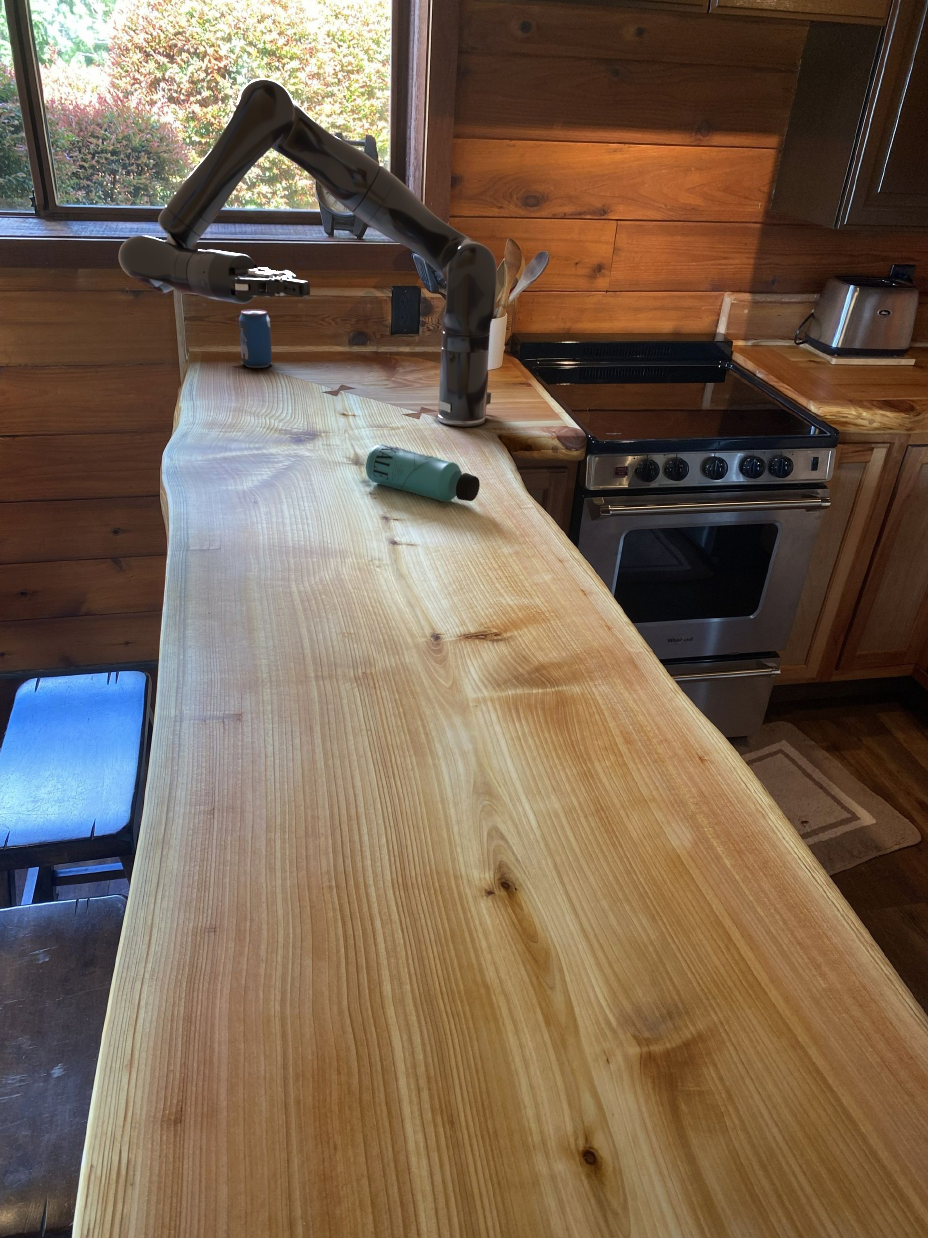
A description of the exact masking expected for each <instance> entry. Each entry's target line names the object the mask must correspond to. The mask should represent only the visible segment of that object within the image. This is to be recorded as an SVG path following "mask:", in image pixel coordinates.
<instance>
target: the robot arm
mask: <svg viewBox="0 0 928 1238" xmlns="http://www.w3.org/2000/svg"><path fill="white" fill-rule="evenodd" d="M270 150H273V151H275V152H277V153H278V154H280V155H281V156H283V157H285V158H286V159H288V160H290V161H291V162H293V163H294V164H296V165H297V166H298V167H300V168H301V169H302V170H303V171H305V172H306V173H307V174H308V175H309V176H310V177H312V179H314V180H315V182H317V183H318V184H319V186H321V187H322V188H323V189H324V190H325V191H326V192H327V193H328V194H329V195H330V196H331V197H333V198H334V199H335V200H336V201H337V202H338V203H339V204H341V206H343V207H344V208H345V209H347V210H348V211H349V212H350V213H352V214H353V215H355V216H356V217H357V218H358V219H360V220H361V221H362V222H364V223H365V224H366V225H368V226H369V227H371V228H373V229H374V230H376V231H377V232H379V233H380V234H382V235H384V236H385V237H387V238H389V239H391V240H392V241H394V242H396V243H398V244H399V245H402V246H404V247H405V248H407V249H409V250H410V251H412V252H413V253H415V254H416V255H417V256H418V257H420V258H421V259H422V260H423V261H424V262H426V264H427V265H429V266H430V267H431V268H432V269H433V270H434V271H435V272H436V273H437V274H438V275H439V276H440V277H441V278H442V279H443V280H444V282H446V291H445V292H446V293H445V306H444V312H443V314H442V317H441V329H440V330H441V331H440V334H441V335H440V359H439V384H438V385H439V387H438V402H437V410H438V411H437V420H438V421H439V422H440V423H442V424H444V425H447V426H452V427H463V428H465V427H466V428H468V427H477V426H481V425H483V424H484V423H485V422H486V417H487V407H488V405H490V404H491V400H492V392H490V391H488V383H489V370H488V368H489V367H488V366H489V356H490V355H489V353H490V337H491V334H490V333H491V325H492V321H493V318H494V313H495V305H496V295H497V284H498V281H497V280H498V265H497V264H498V263H497V261H496V257H495V255H494V254H493V252H492V251H491V249H490V248H489V247H487V246H486V245H485V244H482V243H481V242H479V241H477V240H476V239H473V238H471V237H470V236H467V235H465V234H464V233H462V232H460V231H459V230H457V229H455V228H454V227H453V226H451V225H449V224H447V223H446V222H444V221H443V220H442V219H441V218H439V217H438V216H437V215H435V214H434V213H433V212H432V211H431V210H430V209H429V208H428V207H427V206H426V204H424V203H423V201H422V200H421V198H419V197H418V196H417V194H415V193H414V192H413V190H411V189H410V188H409V187H408V186H407V185H406V184H405V183H404V182H403V181H402V180H400V178H398V177H397V176H396V175H394V174H393V173H392V172H390V171H389V170H388V169H387V168H385V167H384V166H383V165H382V164H380V162H378V161H376V160H375V159H374V158H372V157H371V156H370V155H368V154H366V153H365V152H363V151H362V150H360V149H359V148H356V147H355V146H353V145H351V144H350V143H348V142H347V141H345V140H343V139H341V138H338V136H335V135H334V134H332V133H331V132H329V131H328V130H326V129H325V128H323V127H322V126H321V125H320V124H318V123H317V122H316V121H315V120H314V119H313V118H312V117H311V116H309V114H307V113H306V112H305V111H304V110H303V109H302V108H301V107H300V106H299V105H298V104H297V103H295V101H294V100H293V98H292V95H291V94H290V92H289V91H288V89H286V88H285V87H284V86H283V85H282V84H281V83H279V82H278V81H276V80H273V79H269V78H256V79H254V80H251V81H250V82H249V83H246V85H245V86H244V87H243V88H242V90H241V91H240V92H239V95H238V98H237V103H236V106H235V108H234V111H233V112H232V114H231V117H230V118H229V120H228V123H226V126H225V128H224V129H223V132H221V134H220V136H219V138H218V140H216V142H215V143H214V145H213V146H212V148H211V149H210V150H209V152H208V153H207V154H206V155H205V157H204V158H203V159H202V160H201V161H200V163H199V164H198V165H196V167H195V168H194V170H193V171H191V173H190V174H189V175H188V176H187V177H186V178H185V180H184V181H183V182H182V183H181V184H180V186H179V187H178V189H177V190H176V191H175V192H174V194H173V195H172V197H171V198H170V199H169V201H168V202H167V204H166V205H165V206H164V207H163V209H162V210H161V212H160V214H159V215H158V218H157V221H158V225H159V226H160V228H161V229H162V230H163V231H164V233H165V234H166V235H167V236H166V239H165V240H162V239H159V238H156V237H153V236H149V235H143V234H141V235H134V236H131V237H128V238H127V239H126V240H125V241H123V243H122V244H121V246H120V247H119V250H118V262H119V265H120V267H121V269H122V270H123V271H124V273H125V274H126V275H127V276H129V277H130V278H132V279H134V280H135V281H137V282H138V283H140V284H142V285H143V286H145V287H147V288H148V289H150V290H151V291H153V292H155V293H158V294H166V293H168V292H171V291H173V290H174V289H175V290H177V291H180V292H183V293H186V294H191V295H192V294H193V295H198V296H202V297H205V298H206V299H207V298H208V299H212V300H216V301H223V302H229V303H234V304H241V305H245V304H248V303H250V302H251V301H253V300H254V298H256V297H266V298H273V297H275V296H280V297H284V296H292V297H297V298H306V297H310V295H311V284H310V282H309V281H307V280H301V279H297V275H296V274H294V273H293V272H292V271H290V270H288V269H285V270H282V271H278V270H277V271H276V270H271V269H270V268H268V267H260V266H259V267H258V266H257V263H256V262H255V261H254V259H253V258H252V257H250V256H249V255H247V254H243V253H236V252H229V251H222V250H216V249H207V250H205V249H198V248H196V246H197V243H198V241H199V240H200V239H201V238H202V236H203V235H204V234H205V232H206V230H208V229H209V227H210V226H211V224H213V222H214V220H215V219H216V218H217V217H218V215H219V214H220V212H221V210H222V209H223V207H225V205H226V203H227V202H228V200H229V199H230V197H231V196H232V194H233V192H234V191H235V190H236V189H237V187H238V185H239V184H240V182H241V181H243V179H244V178H245V176H246V175H247V173H249V172H250V170H251V169H252V167H253V166H255V164H257V162H258V161H259V160H260V159H261V158H263V156H264V155H265V154H267V153H268V152H269V151H270Z"/></svg>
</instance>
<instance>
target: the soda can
mask: <svg viewBox="0 0 928 1238" xmlns="http://www.w3.org/2000/svg"><path fill="white" fill-rule="evenodd" d="M238 326H239V327H238V328H239V338H240V339H239V340H240V357H241V361H242V364H244V366H245V367H248V368H253V369H260V368H261V369H262V368H267V367H269V366H270V365H271V363H272V360H273V351H272V331H271V319H270V317H269V314H268V311H267V310H264V309H256V308H254V309H253V308H250V309H249V308H248V309H243V310H241V311H240V316H239V318H238Z"/></svg>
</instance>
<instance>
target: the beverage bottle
mask: <svg viewBox="0 0 928 1238" xmlns="http://www.w3.org/2000/svg"><path fill="white" fill-rule="evenodd" d="M365 473H366V476H367V478H368V480H369V481H371V482H372V483H374V484H377V485H380V486H381V485H382V486H384V487H389V488H393V489H397V490H400V491H405V492H409V493H411V494H414V495H415V494H416V495H419V496H422V497H426V498H430V499H433V500H437V501H440V502H443V503H448V502H450V501H452V500H453V499H455V498H456V499H458V500H460V501H466V502H473V501H474V500H475V499H476V498H477V496H478V494H479V491H480V488H481V487H480V486H481V483H480V479H479V478H478V477H477V476H476V475H473V474H471V473H469V472H464V473H462V471H461V468H460V466H459V464H457V463H456V462H452V461H448V460H444V459H442V458H438V457H434V456H432V455H427V454H425V453H423V454H422V453H417V452H415V451H413V450H412V451H411V450H407V449H404V448H401V447H398V446H393V445H389V444H388V445H386V444H383V443H382V444H377V445H375V446H374V447H372V449H371V450H370V451H369V454H368V455H367V458H366V462H365Z"/></svg>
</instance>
